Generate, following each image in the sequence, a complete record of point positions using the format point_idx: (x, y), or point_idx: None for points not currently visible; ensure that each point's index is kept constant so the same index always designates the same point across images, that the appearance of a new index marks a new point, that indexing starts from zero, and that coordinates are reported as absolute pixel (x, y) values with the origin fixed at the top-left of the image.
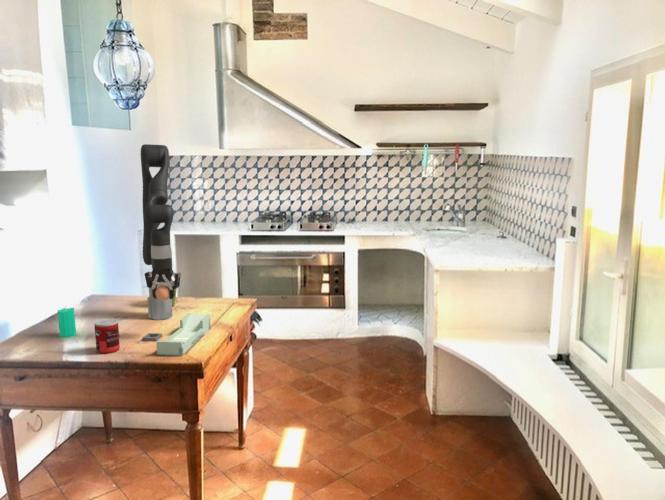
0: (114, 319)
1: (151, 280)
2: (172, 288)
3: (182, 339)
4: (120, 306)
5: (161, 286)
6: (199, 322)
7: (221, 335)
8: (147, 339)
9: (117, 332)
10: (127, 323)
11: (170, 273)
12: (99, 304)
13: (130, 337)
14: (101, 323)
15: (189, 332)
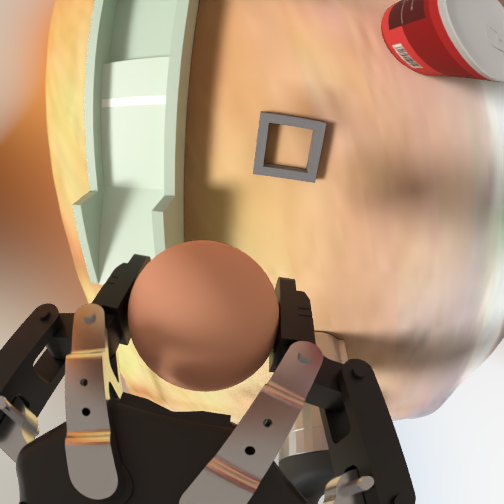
0: (470, 52)
1: (331, 442)
2: (75, 312)
3: (135, 91)
4: (405, 390)
5: (192, 360)
6: (115, 239)
7: (59, 188)
8: (301, 117)
9: (413, 8)
10: (399, 306)
11: (21, 465)
12: (436, 390)
13: (379, 170)
14: (496, 24)
15: (138, 176)
